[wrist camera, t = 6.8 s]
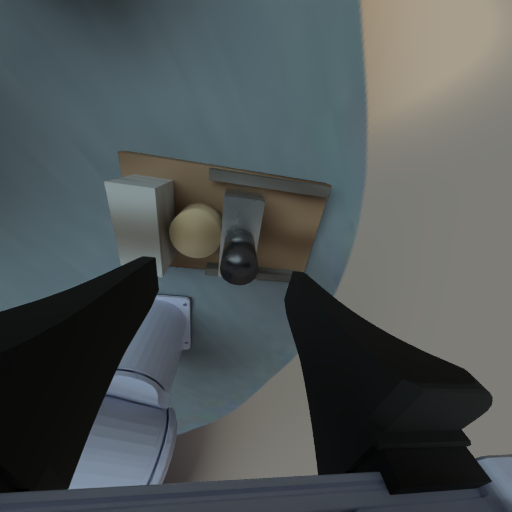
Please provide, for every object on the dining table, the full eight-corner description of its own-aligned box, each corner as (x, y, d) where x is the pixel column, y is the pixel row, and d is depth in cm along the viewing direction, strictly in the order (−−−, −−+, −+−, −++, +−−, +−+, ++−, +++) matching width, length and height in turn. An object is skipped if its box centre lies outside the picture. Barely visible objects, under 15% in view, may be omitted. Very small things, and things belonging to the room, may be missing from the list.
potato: (222, 245, 19) (219, 260, 17) (180, 240, 19) (170, 255, 16) (225, 205, 17) (222, 215, 15) (178, 199, 17) (167, 208, 14)
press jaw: (250, 262, 20) (254, 312, 14) (220, 259, 20) (212, 309, 13) (261, 193, 17) (273, 218, 11) (226, 188, 16) (218, 211, 10)
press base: (298, 270, 23) (313, 302, 18) (142, 256, 21) (112, 288, 16) (325, 182, 18) (355, 194, 14) (127, 151, 16) (79, 151, 11)
